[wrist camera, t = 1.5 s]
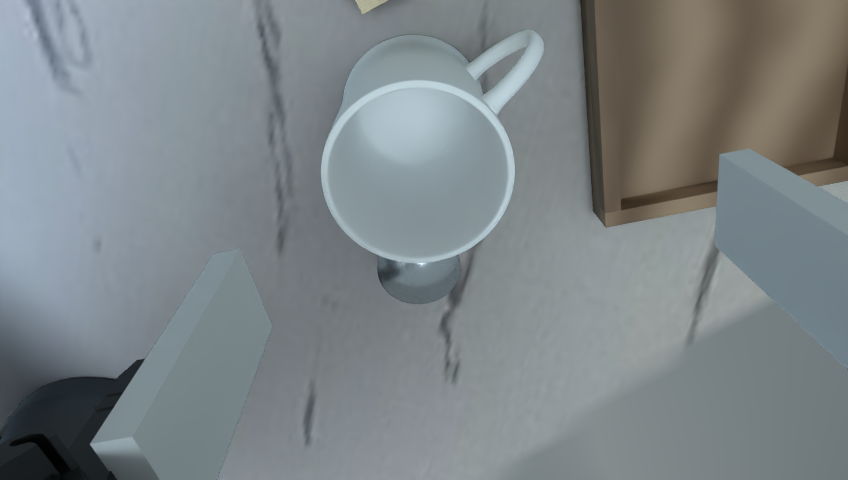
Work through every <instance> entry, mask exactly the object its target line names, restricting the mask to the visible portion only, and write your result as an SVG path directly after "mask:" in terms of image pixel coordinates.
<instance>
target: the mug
mask: <svg viewBox="0 0 848 480" xmlns="http://www.w3.org/2000/svg"><path fill="white" fill-rule="evenodd" d="M524 47H527V48H526V50H525V52H524V53H523V55H522V56H521V58H520V59H519V60H518V62H517V63H516V64H515V65H514V67H513V68H512V69H511V70H510V71H509V72H508V73H507V74H506V76H505V77H504V78H503V79H502V80H501V81H500V82H499V83H498V84H497V85H495V86H494V87H493V88H492V89H491V90H489V91H488V92H487V93H485V94H483V92H482V88H481V84H480V81H479V79H478V78H479V77H480V76H481V75H482V74H483V73H484V72H485V71H486V70H487V69H488V68H490V67H491V66H492V65H494V64H495V63H497V62H498V61H500V60H501V59H503V58H504V57H506V56H508V55H509V54H511V53H513V52H515V51H517V50H519V49H522V48H524ZM543 52H544V43H543V40H542V38H541V37H540V36H539V35H538V34H537V33H536V32H535V31H532V30H524V31H520V32H518V33H515V34H513V35H511V36H509V37H507V38H505V39H503V40H502V41H500V42H498V43H497V44H495V45H494V46H492V47H491V48H489V49H488V50H486V51H485V52H484V53H482V54H481V55H480V56H478V57H477V58H476V59H474V60H473V61H472V62H470V63H469V62H468V60H467V59H466V58H465V57H464V56H463V55H462V54H461V53H460V52H459V51H458V50H456V49H455V48H454V47H452V46H451V45H449V44H447V43H445V42H443V41H441V40H439V39H436V38H433V37H429V36H424V35H403V36H397V37H394V38H390V39H388V40H385V41H383V42H381V43H379V44H377V45H376V46H374V47H373V48H371V49H370V50H369V51H368V52H366V53H365V54H364V55H363V56H362V57H361V58H360V59H359V61H358V62H357V63H356V65H355V66H354V68H353V69H352V71H351V73H350V75H349V77H348V80H347V82H346V85H345V89H344V94H343V103H342V105H341V107H340V110H339V112H338V114H337V117H336V119H335V122H334V124H333V126H332V129H331V131H330V133H329V136H328V138H327V141H326V144H325V147H324V151H323V156H322V162H321V182H322V188H323V193H324V197H325V200H326V203H327V205H328V208H329V210H330V212H331V214H332V215H333V217H334V219H335V220H336V222H337V223H338V225H339V226H340V227H341V228H342V230H343V231H344V232H345V233H346V234H347V235H348V236H349V237H350V238H351V239H352V240H354V241H355V242H356V243H357V244H359V245H360V246H362V247H363V248H365V249H367V250H368V251H370V252H372V253H374V254H376V255H379V256H381V257H384V258H387V259H391V260H395V261H400V262H407V263H427V262H434V261H440V260H444V259H447V258H450V257H453V256H456V255H458V254H460V253H462V252H464V251H466V250H468V249H470V248H471V247H473V246H474V245H476V244H477V243H478V242H480V241H481V240H482V239H483V238H484V237H486V236H487V235H488V234H489V233H490V232H491V230H492V229H493V228H494V227H495V226H496V224H497V223H498V222H499V220H500V219H501V217H502V215H503V214H504V212H505V210H506V208H507V206H508V203H509V201H510V198H511V195H512V191H513V186H514V178H515V163H514V156H513V151H512V147H511V144H510V141H509V138H508V136H507V133H506V131H505V129H504V127H503V126H502V124H501V122H500V120H499V119H498V117H497V116H496V115H498V113H499V112H500V110H501V109H502V107H503V106H504V105H505V104H506V103H507V102H508V101H509V100H510V99H511V98H512V97H513V96H514V95H515V94H516V92H517V91H518V90H519V89H520V88H521V87H522V86H523V85H524V83H525V82H526V81H527V80H528V78H529V77H530V76H531V75H532V73H533V72H534V70H535V69H536V67H537V66H538V64H539V62H540V60H541V58H542V55H543Z"/></svg>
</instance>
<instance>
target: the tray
mask: <svg viewBox="0 0 848 480" xmlns="http://www.w3.org/2000/svg"><path fill="white" fill-rule="evenodd" d="M581 17H582V33H583V50H584V66H585V82H586V99H587V115H588V132H589V148H590V164H591V181H592V197H593V211H594V213H595V214H596V215H597V217H598V218H599V219H600V221H601V222H602V223H603V225H604V226H605V227H611V226H616V225H621V224H627V223H632V222H637V221H642V220H647V219H652V218H658V217H663V216H668V215H673V214H678V213H683V212H688V211H694V210H699V209H704V208H709V207H714V206H717V189H718V172H719V155H720V154H724V153H729V152H734V151H739V150H744V149H751V150H753V151H755V152H757V153H758V154H760V155H762V156H764V157H766V158H767V159H769V160H771V161H773V162H774V163H776V164H778V165H780V166H782V167H783V168H785V169H787V170H789V171H791V172H792V173H794V174H796V175H798V176H800V177H801V178H803V179H805V180H807V181H809V182H810V183H812V184H814V185H816V186H823V185H828V184H833V183H838V182H843V181H848V0H581Z"/></svg>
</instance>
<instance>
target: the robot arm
mask: <svg viewBox="0 0 848 480" xmlns="http://www.w3.org/2000/svg"><path fill="white" fill-rule="evenodd" d="M714 245H715V246H716V247H717V248H718V249H719V250H720V251H721V252H722V253H723V254H724V255H725V256H727V257H728V258H729V259H730V260H731V261H732V262H733V263H734V264H735V265H736V266H737V267H738V268H739V269H740V270H742V271H743V272H744V273H745V274H746V275H747V276H748V277H749V278H750V279H751V280H752V281H753V282H754V283H755V284H757V285H758V286H759V287H760V288H761V289H762V290H763V291H764V292H765V293H766V294H767V295H768V296H769V297H770V298H771V299H773V300H774V301H775V302H776V303H777V304H778V305H779V306H780V307H781V308H782V309H783V310H784V311H785V312H787V313H788V314H789V315H790V316H791V317H792V318H793V319H794V320H795V321H796V322H797V323H798V324H800V325H801V327H803V328H804V329H805V330H806V331H807V332H808V333H809V334H810V335H811V336H812V337H813V338H814V339H816V341H818V342H819V343H820V344H821V345H822V346H823V347H824V348H825V349H826V350H827V351H828V352H829V353H830V354H831V355H833V356H834V357H835V358H836V359H837V360H838V361H839V362H840V363H841V364H842V365H843V366H844V367H846V368H847V370H848V203H846V202H845V201H843V200H841V199H839V198H837V197H836V196H834V195H832V194H830V193H828V192H827V191H825V190H823V189H821V188H819V187H818V186H816V185H814V184H812V183H810V182H809V181H807V180H805V179H803V178H801V177H800V176H798V175H796V174H794V173H792V172H791V171H789V170H787V169H785V168H783V167H782V166H780V165H778V164H776V163H774V162H773V161H771V160H769V159H767V158H766V157H764V156H762V155H760V154H758V153H757V152H755V151H753V150H751V149H744V150H739V151H734V152H729V153H724V154H720V155H719V172H718V189H717V206H716V223H715V240H714ZM271 330H272V325H271V322H270V320H269V317H268V315H267V313H266V310H265V308H264V305H263V303H262V301H261V298H260V296H259V293H258V291H257V288H256V286H255V284H254V281H253V279H252V276H251V274H250V272H249V269H248V267H247V264H246V262H245V260H244V257H243V255H242V252H241V250H240V249H236V250H230V251H225V252H220V253H215V254H213V256H212V257H211V259H210V260H209V262H208V263H207V265H206V266H205V268H204V269H203V271H202V273H201V274H200V276H199V277H198V279H197V280H196V282H195V283H194V285H193V286H192V288H191V289H190V291H189V293H188V294H187V296H186V297H185V299H184V300H183V302H182V303H181V305H180V306H179V308H178V309H177V311H176V312H175V314H174V316H173V317H172V319H171V320H170V322H169V323H168V325H167V326H166V328H165V329H164V331H163V332H162V334H161V336H160V337H159V339H158V340H157V342H156V343H155V345H154V346H153V348H152V349H151V351H150V352H149V354H148V356H147V357H146V359H142V360H137V361H136V362H134V363H133V364H132V365H131V366H130V367H129V368H128V369H127V370H125V371H124V372H123V373H122V374H121V375H120V376H119V377H118V378H117V379H116V381H113V380H107V379H98V378H77V379H69V380H63V381H58V382H55V383H52V384H49V385H46V386H44V387H42V388H40V389H38V390H36V391H35V392H33V393H32V394H30V395H29V396H28V397H27V398H26V399H25V400H24V401H23V402H22V403H21V404H20V405H19V407H18V408H17V409H16V410H15V411H14V413H13V414H12V415H11V416H10V417H9V418H8V420H7V421H6V422H5V424H4V425H3V427H2V428H1V430H0V480H217V479H218V476H219V473H220V470H221V468H222V465H223V462H224V459H225V457H226V454H227V451H228V448H229V445H230V443H231V440H232V437H233V434H234V432H235V429H236V426H237V423H238V421H239V418H240V415H241V412H242V410H243V407H244V404H245V401H246V399H247V396H248V393H249V390H250V388H251V385H252V382H253V379H254V377H255V374H256V371H257V368H258V366H259V363H260V360H261V357H262V354H263V352H264V349H265V346H266V343H267V341H268V338H269V335H270V332H271Z"/></svg>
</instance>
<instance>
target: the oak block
mask: <svg viewBox="0 0 848 480" xmlns="http://www.w3.org/2000/svg"><path fill="white" fill-rule="evenodd" d="M355 1H356V3H357V4H358V6H359V8H360V10H361V12H362V14H364V13H366V12H368V11H370V10H371V9H373V8H375V7H377V6H379V5H380V4H382V3H384V2H386V1H388V0H355Z"/></svg>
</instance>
